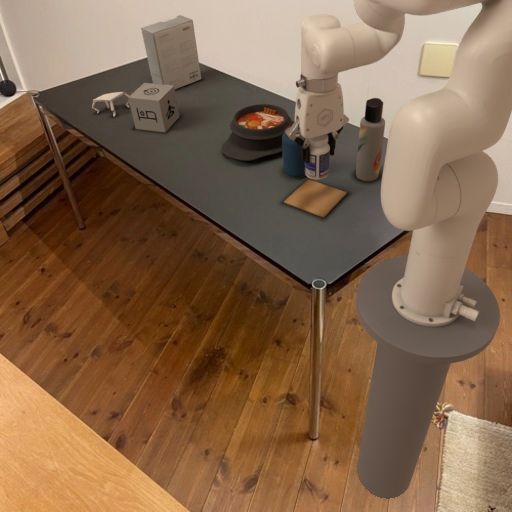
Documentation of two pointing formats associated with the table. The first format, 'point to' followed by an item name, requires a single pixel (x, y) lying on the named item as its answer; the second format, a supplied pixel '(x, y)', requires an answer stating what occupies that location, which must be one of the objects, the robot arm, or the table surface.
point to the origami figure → (109, 100)
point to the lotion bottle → (370, 141)
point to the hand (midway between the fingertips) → (317, 155)
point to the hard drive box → (172, 51)
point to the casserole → (256, 132)
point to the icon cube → (154, 107)
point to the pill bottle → (318, 158)
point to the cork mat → (315, 198)
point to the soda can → (292, 157)
